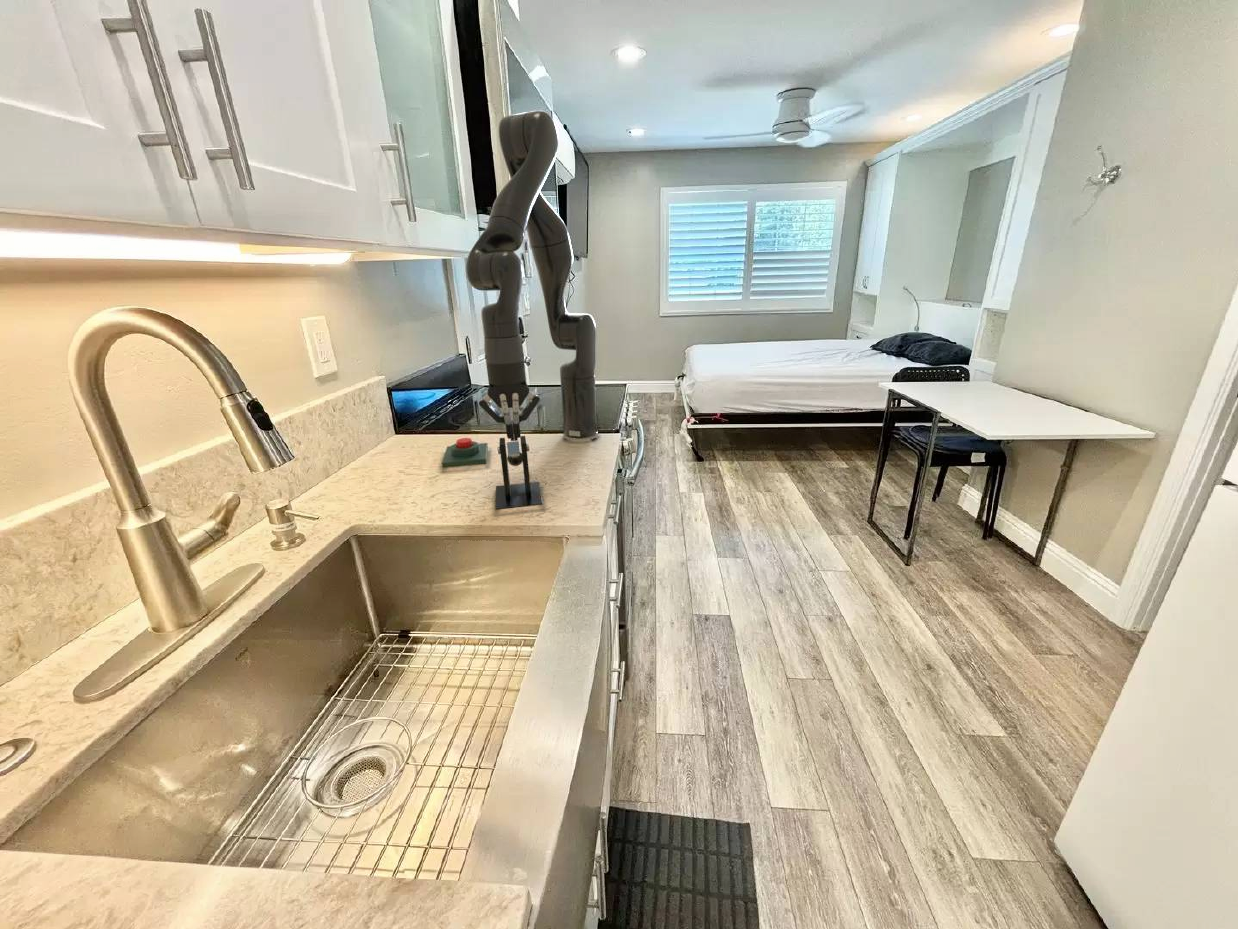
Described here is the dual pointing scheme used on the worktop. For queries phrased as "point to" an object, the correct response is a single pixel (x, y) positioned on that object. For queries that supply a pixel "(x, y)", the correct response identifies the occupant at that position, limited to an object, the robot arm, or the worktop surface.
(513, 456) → the lever
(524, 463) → the bracket
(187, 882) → the worktop surface
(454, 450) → the button box
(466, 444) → the button
